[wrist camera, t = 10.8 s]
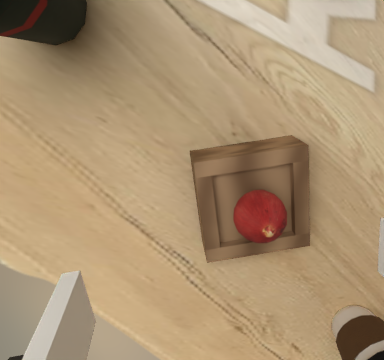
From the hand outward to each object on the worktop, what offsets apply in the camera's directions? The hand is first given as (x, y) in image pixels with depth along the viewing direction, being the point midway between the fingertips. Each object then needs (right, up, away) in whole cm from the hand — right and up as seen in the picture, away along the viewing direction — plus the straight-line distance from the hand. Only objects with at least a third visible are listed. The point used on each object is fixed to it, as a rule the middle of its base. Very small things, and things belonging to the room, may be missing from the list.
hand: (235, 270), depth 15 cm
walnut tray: (+5, +2, +30) cm, 30 cm away
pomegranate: (+5, +1, +26) cm, 27 cm away
